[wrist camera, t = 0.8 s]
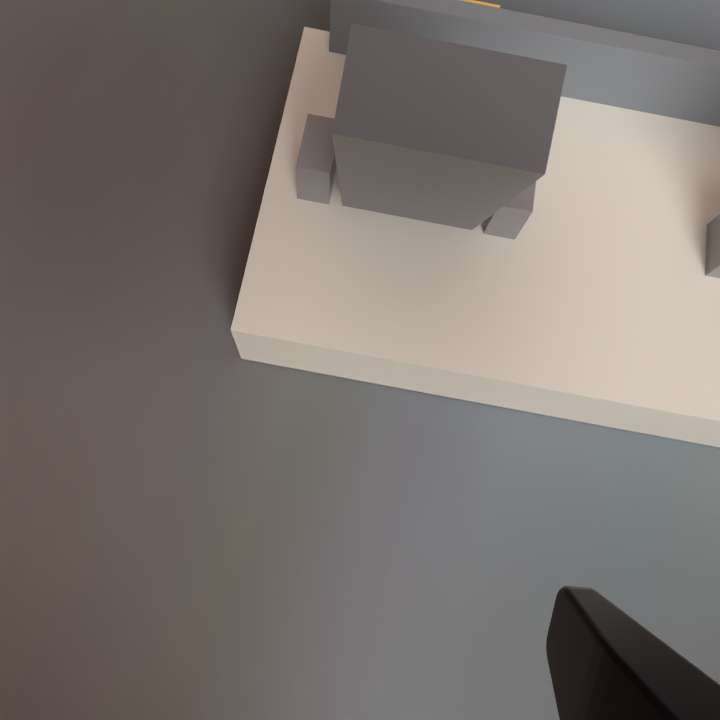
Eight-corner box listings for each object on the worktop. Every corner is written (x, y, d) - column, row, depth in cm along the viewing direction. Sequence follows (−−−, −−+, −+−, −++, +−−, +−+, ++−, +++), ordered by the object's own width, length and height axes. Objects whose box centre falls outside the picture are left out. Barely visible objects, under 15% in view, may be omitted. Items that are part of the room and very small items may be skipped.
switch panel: (881, 477, 23) (1052, 455, 17) (241, 358, 22) (218, 298, 17) (867, 193, 26) (1009, 101, 21) (305, 86, 26) (303, -36, 20)
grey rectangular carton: (469, 232, 21) (544, 174, 12) (342, 208, 21) (331, 133, 12) (481, 167, 21) (567, 64, 12) (354, 143, 21) (351, 23, 12)
